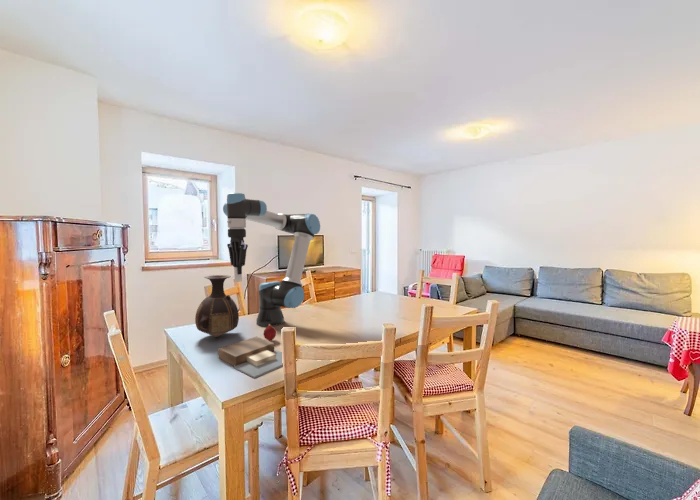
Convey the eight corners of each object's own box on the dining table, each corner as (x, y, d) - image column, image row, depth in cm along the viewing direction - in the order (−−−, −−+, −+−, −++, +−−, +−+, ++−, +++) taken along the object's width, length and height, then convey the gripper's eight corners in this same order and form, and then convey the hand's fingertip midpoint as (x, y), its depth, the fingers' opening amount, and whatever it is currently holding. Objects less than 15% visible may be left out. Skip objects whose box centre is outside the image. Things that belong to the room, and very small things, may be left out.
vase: (206, 348, 136) (203, 281, 134) (185, 339, 148) (182, 277, 146) (250, 334, 154) (249, 275, 152) (229, 326, 166) (227, 271, 164)
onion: (278, 340, 145) (278, 324, 144) (268, 344, 141) (267, 327, 140) (271, 338, 149) (271, 321, 148) (261, 341, 144) (260, 324, 144)
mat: (277, 351, 132) (277, 350, 132) (297, 359, 124) (297, 358, 124) (234, 368, 116) (234, 366, 116) (254, 378, 108) (254, 376, 108)
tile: (266, 354, 128) (266, 349, 128) (276, 359, 123) (276, 354, 123) (246, 361, 121) (246, 356, 121) (256, 366, 116) (256, 361, 116)
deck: (256, 345, 140) (256, 336, 139) (274, 352, 131) (274, 343, 131) (218, 358, 126) (218, 348, 125) (235, 366, 117) (235, 356, 117)
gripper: (221, 228, 137) (222, 281, 138) (237, 228, 129) (238, 284, 130) (236, 228, 143) (237, 278, 144) (252, 228, 135) (254, 281, 136)
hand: (238, 281), depth 137 cm, fingers closed
